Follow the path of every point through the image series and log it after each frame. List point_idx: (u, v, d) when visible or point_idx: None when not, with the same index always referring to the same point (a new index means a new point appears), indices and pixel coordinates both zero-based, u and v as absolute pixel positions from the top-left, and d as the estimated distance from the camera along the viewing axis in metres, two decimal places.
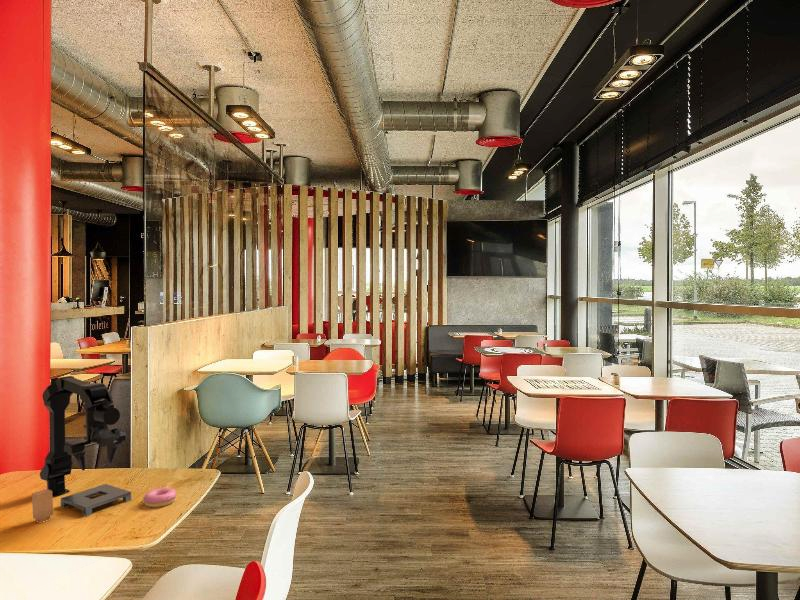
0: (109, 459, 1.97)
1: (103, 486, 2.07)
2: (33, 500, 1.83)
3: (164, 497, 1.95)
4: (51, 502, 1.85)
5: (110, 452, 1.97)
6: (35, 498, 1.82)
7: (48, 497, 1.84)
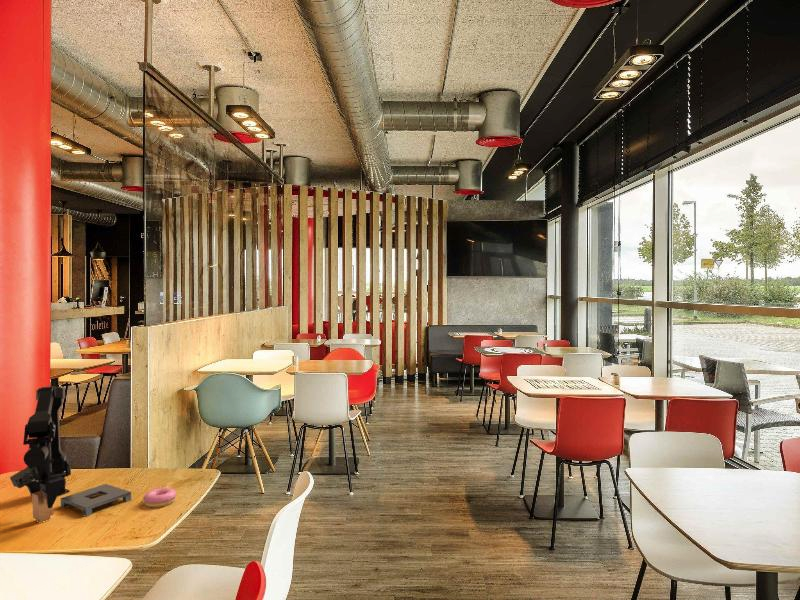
0: None
1: (103, 486, 2.07)
2: (33, 500, 1.83)
3: (164, 497, 1.95)
4: None
5: None
6: (35, 498, 1.82)
7: None
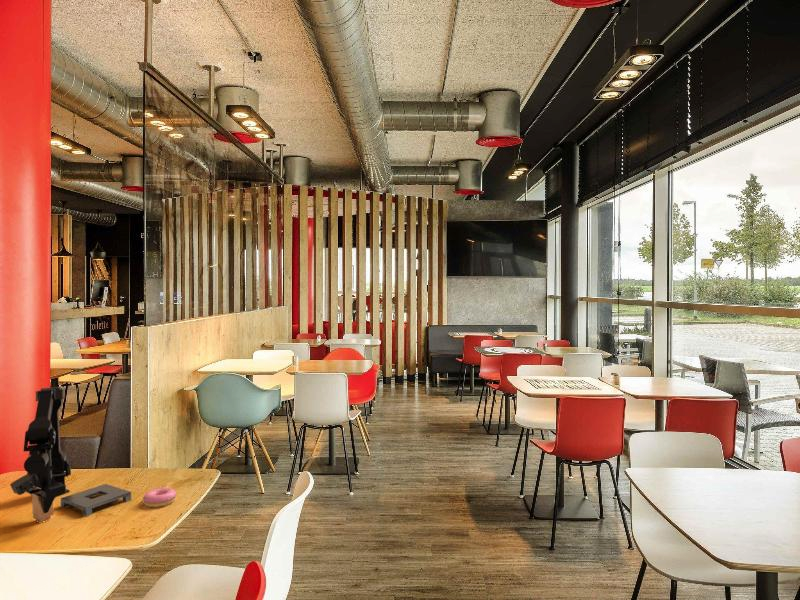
0: None
1: (103, 486, 2.07)
2: (33, 500, 1.83)
3: (164, 497, 1.95)
4: None
5: None
6: (35, 498, 1.82)
7: None
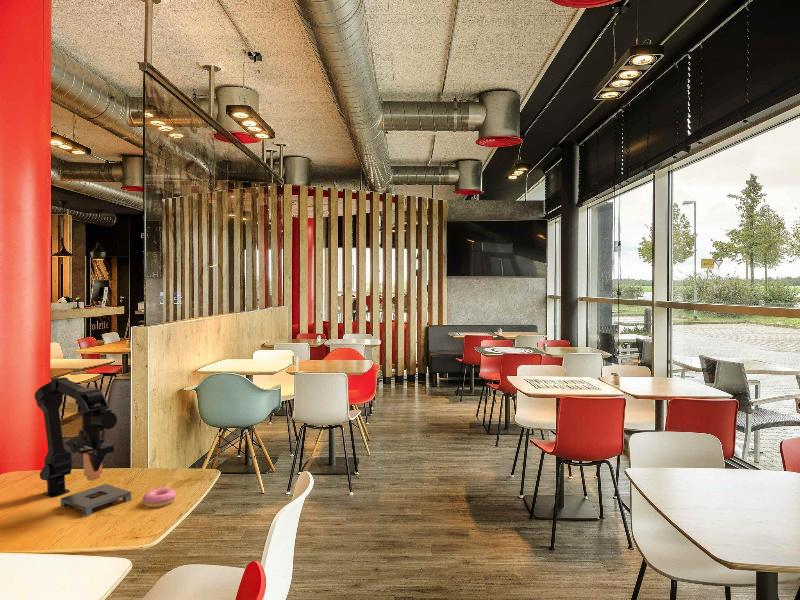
0: None
1: (103, 486, 2.07)
2: (84, 459, 1.96)
3: (163, 497, 1.95)
4: None
5: None
6: (86, 457, 1.95)
7: None
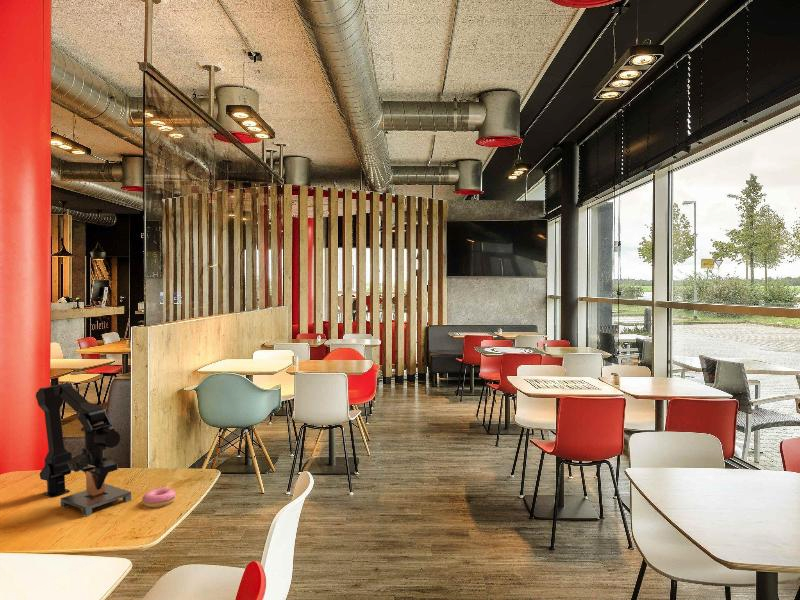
0: None
1: None
2: (87, 477, 1.97)
3: (163, 497, 1.95)
4: None
5: None
6: (89, 475, 1.96)
7: None
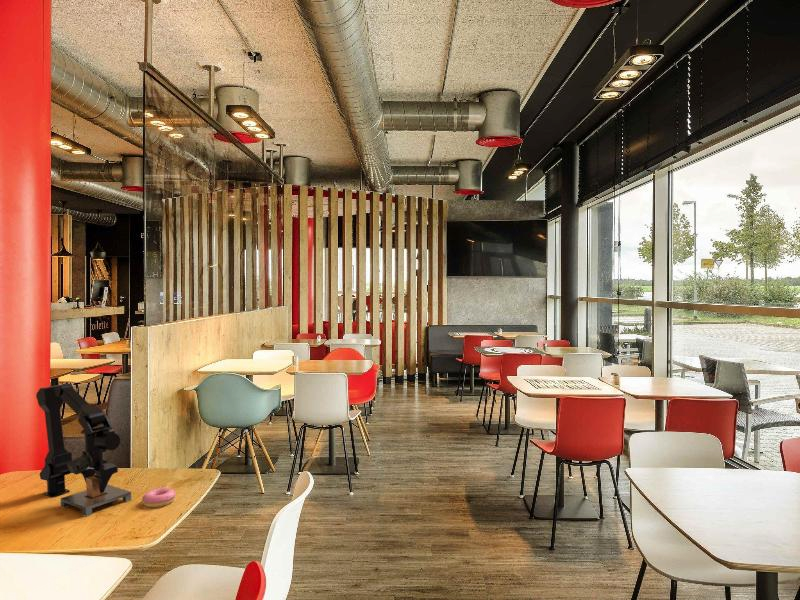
0: None
1: None
2: (87, 484, 1.97)
3: (163, 497, 1.95)
4: None
5: None
6: (89, 482, 1.96)
7: None
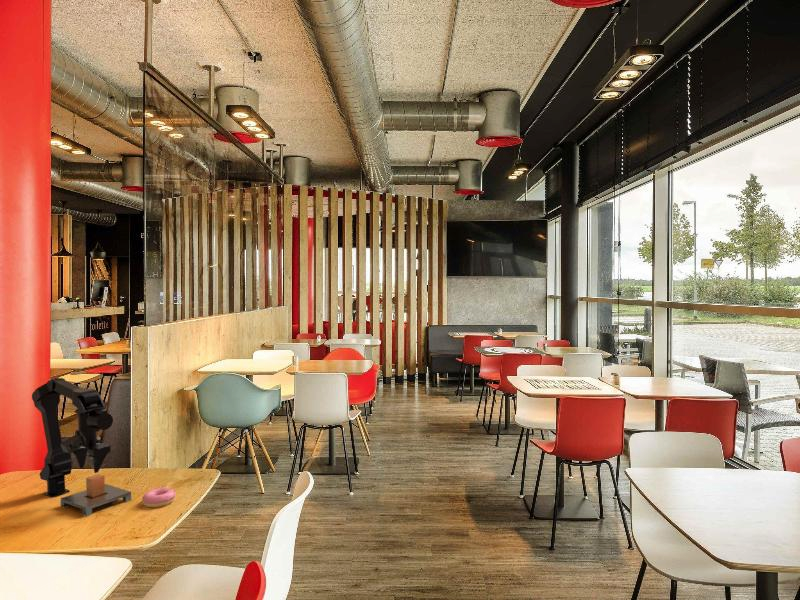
0: None
1: None
2: (87, 484, 1.97)
3: (163, 497, 1.95)
4: (103, 486, 1.99)
5: None
6: (89, 482, 1.96)
7: (100, 482, 1.98)
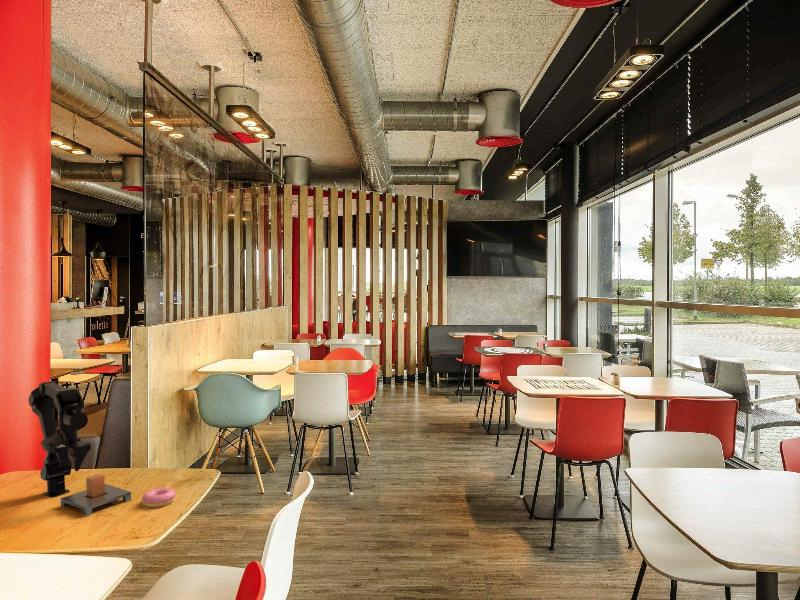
0: None
1: None
2: (87, 484, 1.97)
3: (163, 497, 1.95)
4: (103, 486, 1.99)
5: None
6: (89, 482, 1.96)
7: (100, 482, 1.98)
